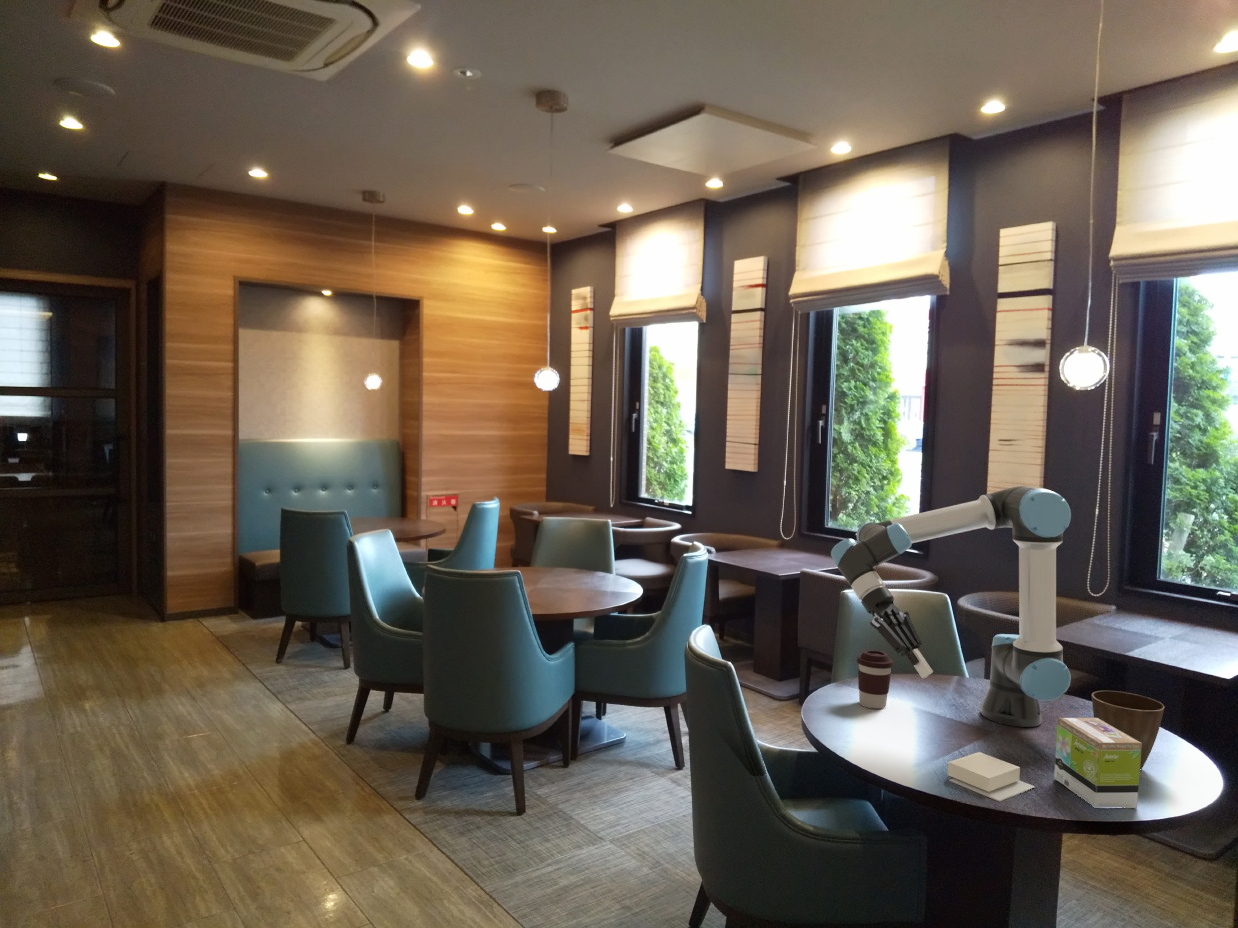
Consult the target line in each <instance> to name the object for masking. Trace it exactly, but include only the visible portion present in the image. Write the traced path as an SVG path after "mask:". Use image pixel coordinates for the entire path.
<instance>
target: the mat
mask: <svg viewBox="0 0 1238 928" xmlns="http://www.w3.org/2000/svg"><path fill="white" fill-rule="evenodd" d="M949 782H951V783H953V784H956V785H958V786H961V787H963V788H965V789H968V790H970V791H973V792H975V793H978V794H980V795H983V796H985V797H986V798H990V799H992V800H994V801H997V802H999V803H1000V802H1002V801H1006V800H1008V799H1010V798H1013V797H1015V796H1018V795H1021V794H1023V793H1025V791H1026V792H1028V790H1029V791H1031V790H1033V789H1032V788H1034V789H1036V786H1035V785H1033V784H1029V783H1027V782H1025V781H1021V780H1020V779H1019V781H1016V782H1014V783H1011V784H1008V785H1006V786H1003V787H1000V788H998V789H995V790H992V791H990V792H988V791H985V790H982V789H980V788H977V787H975V786H973V785H970V784H968V783H965V782H963V781H961V780H958V779H956V778H953V777H952V778H950V779H949ZM1030 789H1031V790H1030ZM1020 793H1021V794H1020Z"/></svg>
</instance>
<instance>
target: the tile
mask: <svg viewBox="0 0 1238 928" xmlns="http://www.w3.org/2000/svg"><path fill="white" fill-rule="evenodd" d="M1020 773H1021V767H1020V766H1017V765H1015V764H1012V763H1009V762H1007V761H1004V760H1002V759H999V758H996V757H994V756H991V755H988V754H985V753H984V752H980V751H978V752H975V753H972V754H969V755H965V756H963V757H960V758H956V759H953V760H949V761H948V765H947V776H950V777H952V778H956V779H958V780H961V781H963V782H965V783H968V784H970V785H973V786H975V787H977V788H980V789H982V790H985V791H988V792H990V791H992V790H995V789H998V788H1000V787H1003V786H1006V785H1008V784H1011V783H1014V782H1016V781H1019V780H1020V775H1021V774H1020Z"/></svg>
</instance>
